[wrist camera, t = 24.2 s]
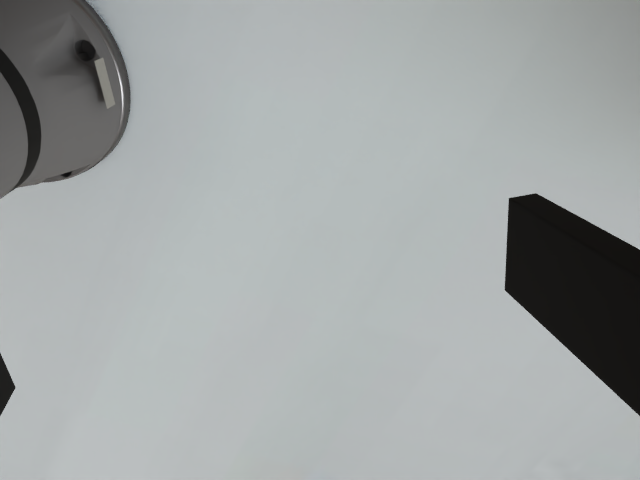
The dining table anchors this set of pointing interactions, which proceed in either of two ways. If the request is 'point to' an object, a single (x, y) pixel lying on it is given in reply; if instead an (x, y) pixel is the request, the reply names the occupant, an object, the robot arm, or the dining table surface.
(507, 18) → the dining table surface
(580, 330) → the robot arm
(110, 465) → the dining table surface
